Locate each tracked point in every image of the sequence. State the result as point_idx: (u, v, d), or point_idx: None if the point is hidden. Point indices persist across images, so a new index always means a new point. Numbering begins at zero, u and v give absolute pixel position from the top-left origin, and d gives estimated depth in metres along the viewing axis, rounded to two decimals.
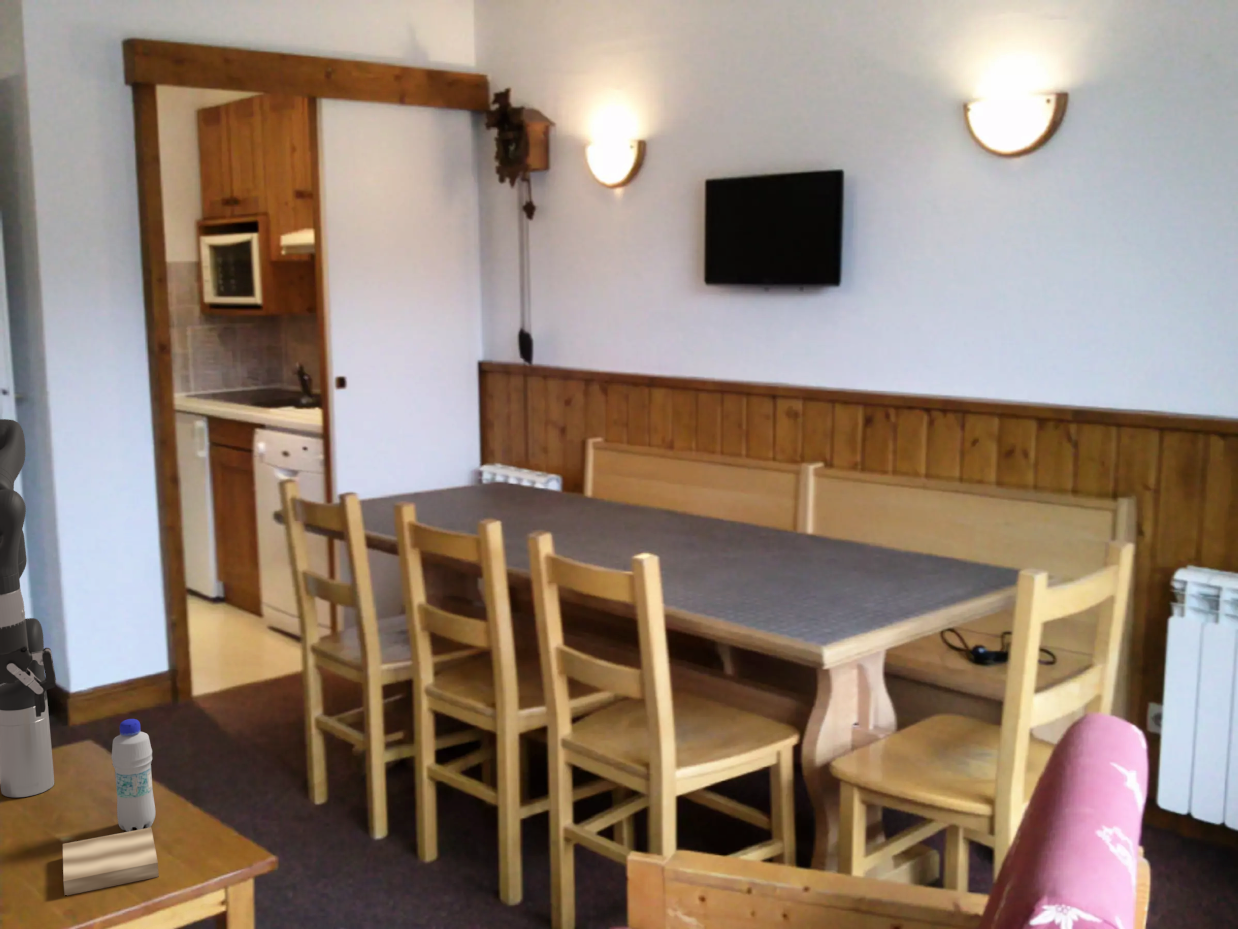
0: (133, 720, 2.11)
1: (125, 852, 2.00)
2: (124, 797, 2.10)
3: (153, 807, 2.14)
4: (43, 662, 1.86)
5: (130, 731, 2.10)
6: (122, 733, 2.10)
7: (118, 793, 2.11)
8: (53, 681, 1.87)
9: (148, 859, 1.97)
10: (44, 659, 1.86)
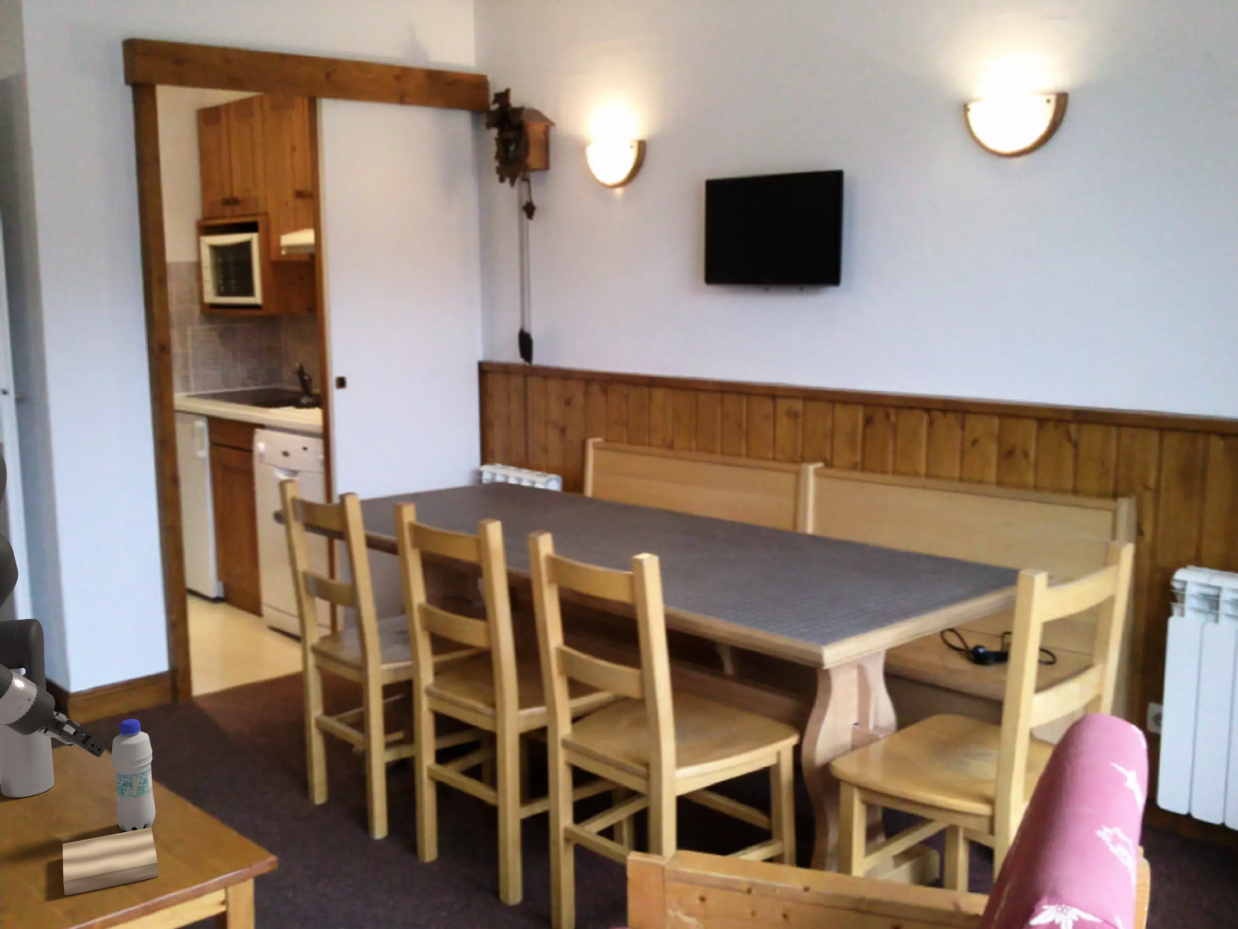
0: (133, 720, 2.11)
1: (125, 852, 2.00)
2: (124, 797, 2.10)
3: (153, 807, 2.14)
4: (64, 736, 1.95)
5: (130, 731, 2.10)
6: (122, 733, 2.10)
7: (118, 793, 2.11)
8: (82, 747, 1.97)
9: (148, 859, 1.97)
10: (63, 735, 1.95)
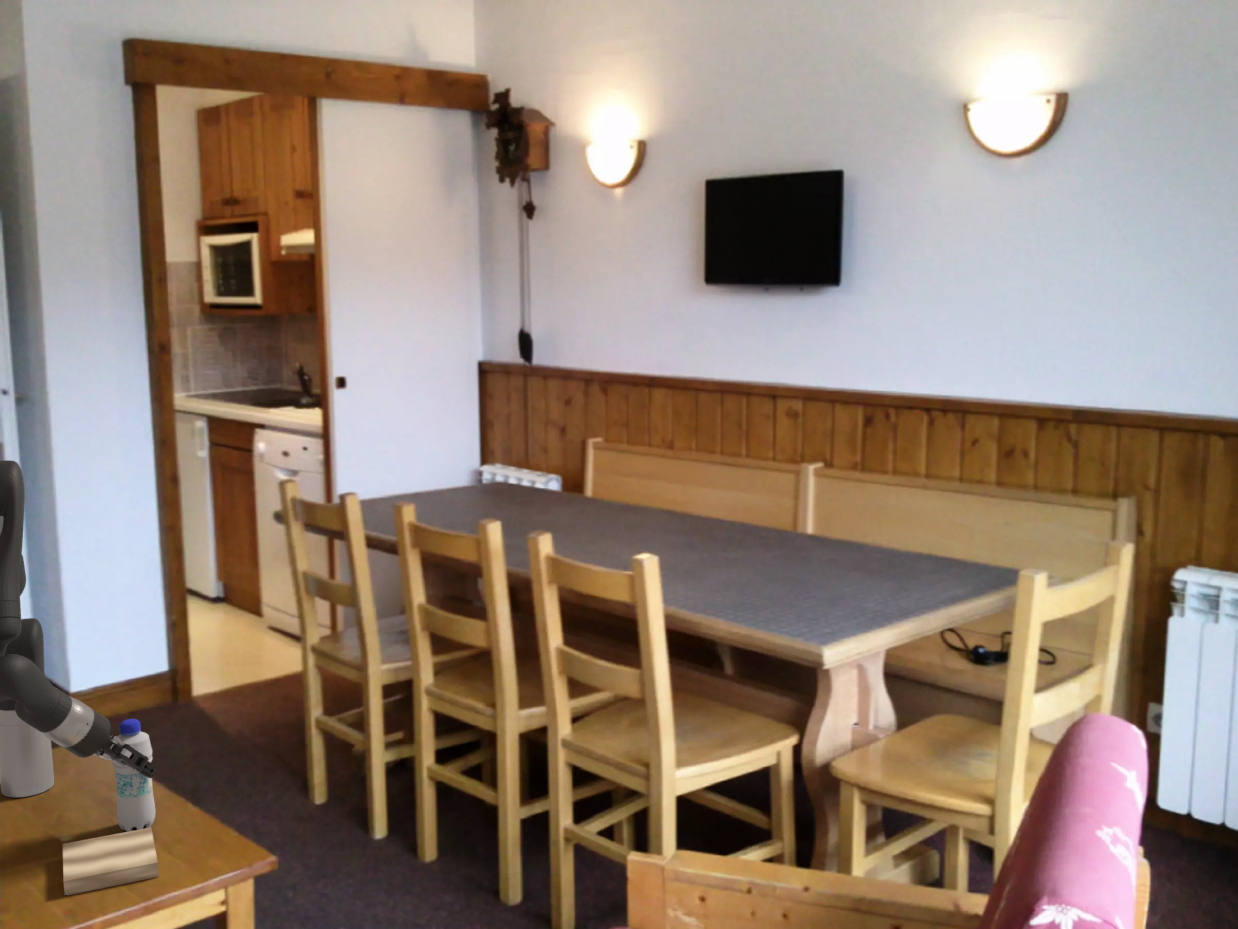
0: (133, 720, 2.11)
1: (125, 852, 2.00)
2: (124, 797, 2.10)
3: (153, 807, 2.14)
4: (121, 759, 2.04)
5: (130, 731, 2.10)
6: (122, 733, 2.10)
7: (118, 793, 2.11)
8: (137, 769, 2.06)
9: (148, 859, 1.97)
10: (120, 759, 2.04)
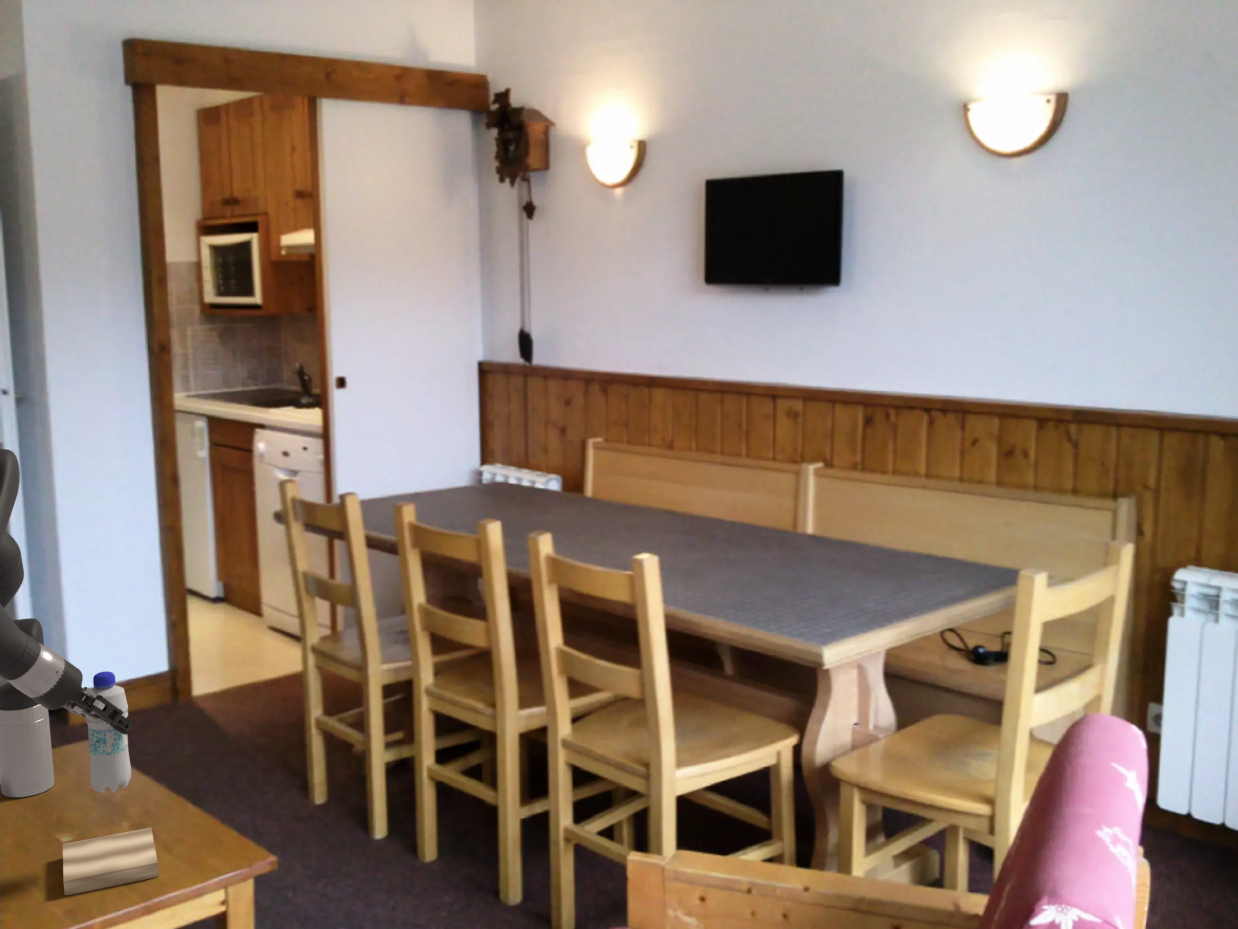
0: (108, 672, 1.98)
1: (125, 852, 2.00)
2: (97, 755, 1.97)
3: (129, 766, 2.00)
4: None
5: (104, 683, 1.97)
6: (96, 686, 1.97)
7: (91, 750, 1.98)
8: (110, 723, 1.93)
9: (148, 859, 1.97)
10: (92, 711, 1.91)
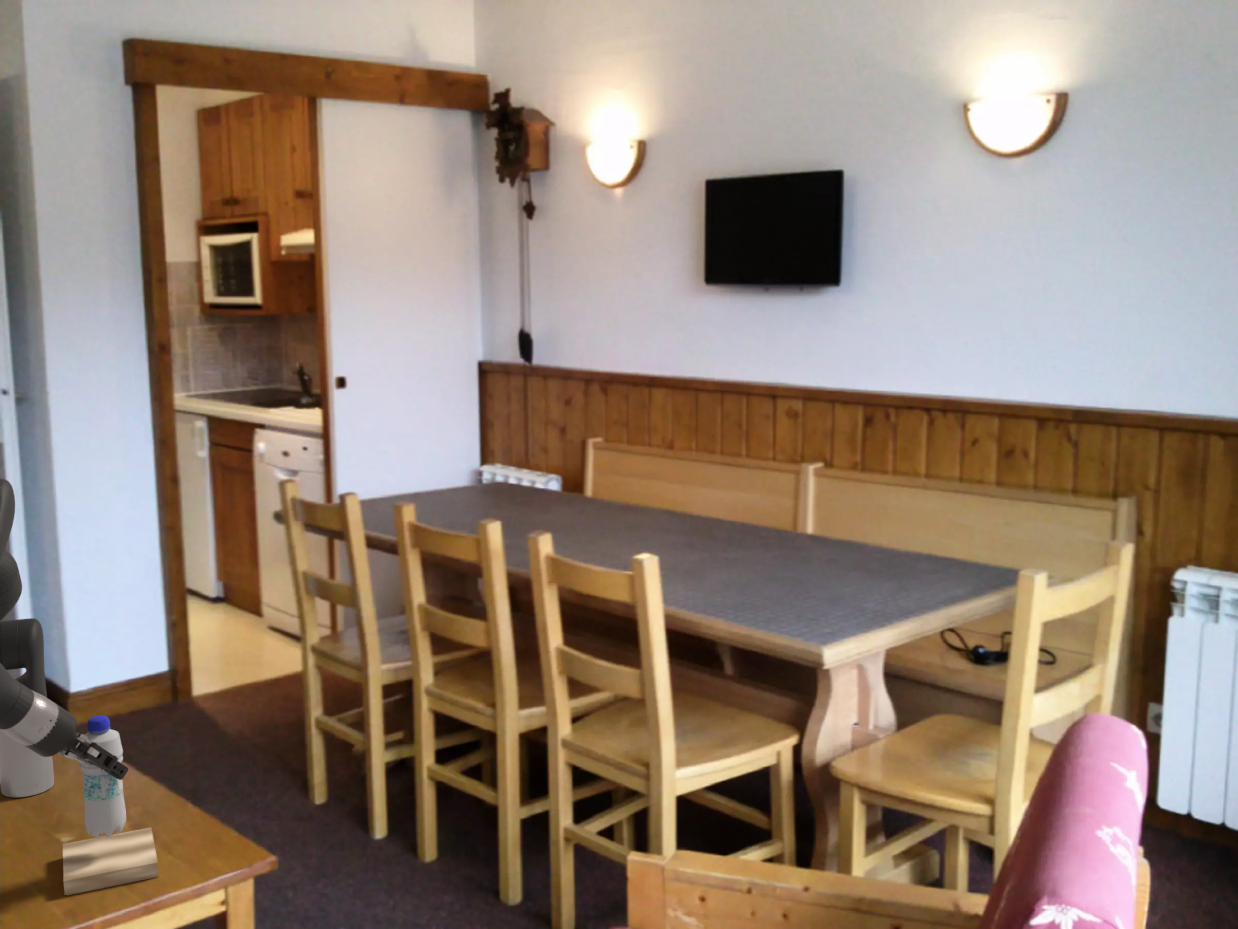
0: (102, 717, 1.96)
1: (125, 852, 2.00)
2: (91, 800, 1.95)
3: (124, 811, 1.98)
4: (87, 759, 1.89)
5: (99, 728, 1.94)
6: (90, 731, 1.94)
7: (85, 796, 1.95)
8: (105, 770, 1.90)
9: (148, 859, 1.97)
10: (86, 758, 1.88)
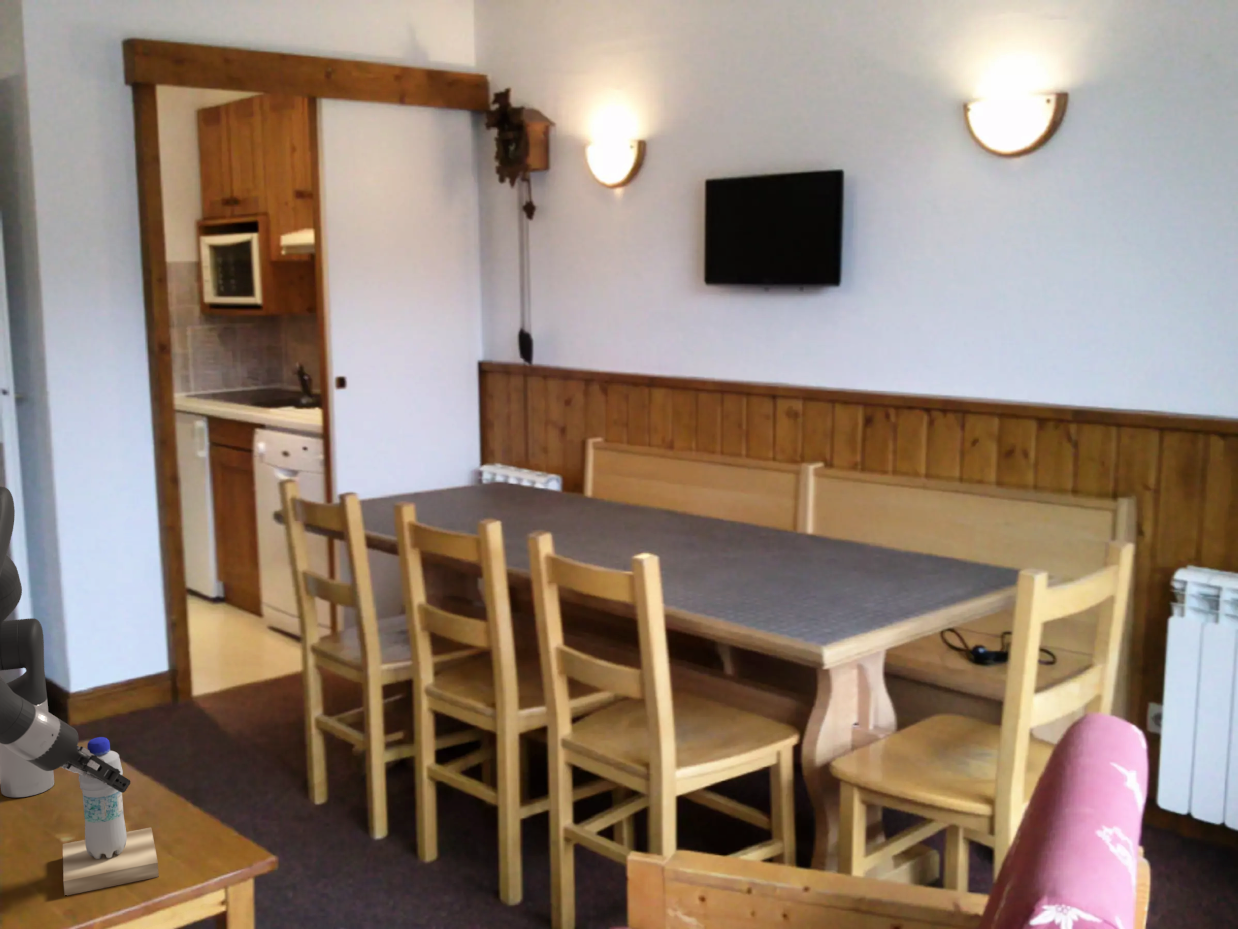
0: (102, 738, 1.96)
1: (125, 852, 2.00)
2: (92, 822, 1.95)
3: (124, 832, 1.99)
4: (88, 772, 1.89)
5: (98, 750, 1.95)
6: None
7: (86, 817, 1.96)
8: (107, 783, 1.90)
9: (148, 859, 1.97)
10: (87, 771, 1.88)
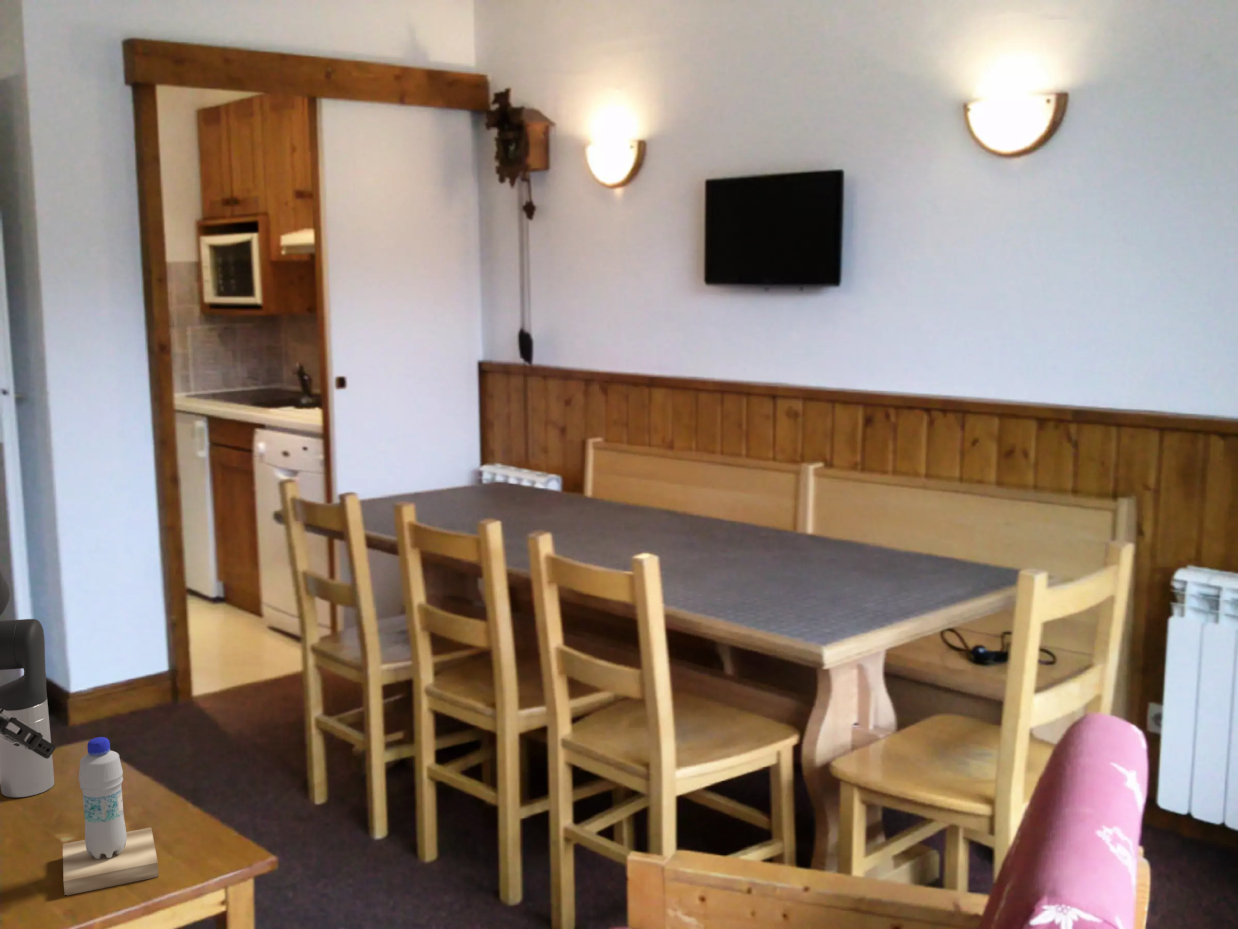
0: (102, 738, 1.96)
1: (125, 852, 2.00)
2: (92, 822, 1.95)
3: (124, 832, 1.99)
4: (7, 735, 1.78)
5: (98, 750, 1.95)
6: (90, 752, 1.95)
7: (86, 817, 1.96)
8: (28, 747, 1.79)
9: (148, 859, 1.97)
10: (6, 734, 1.77)
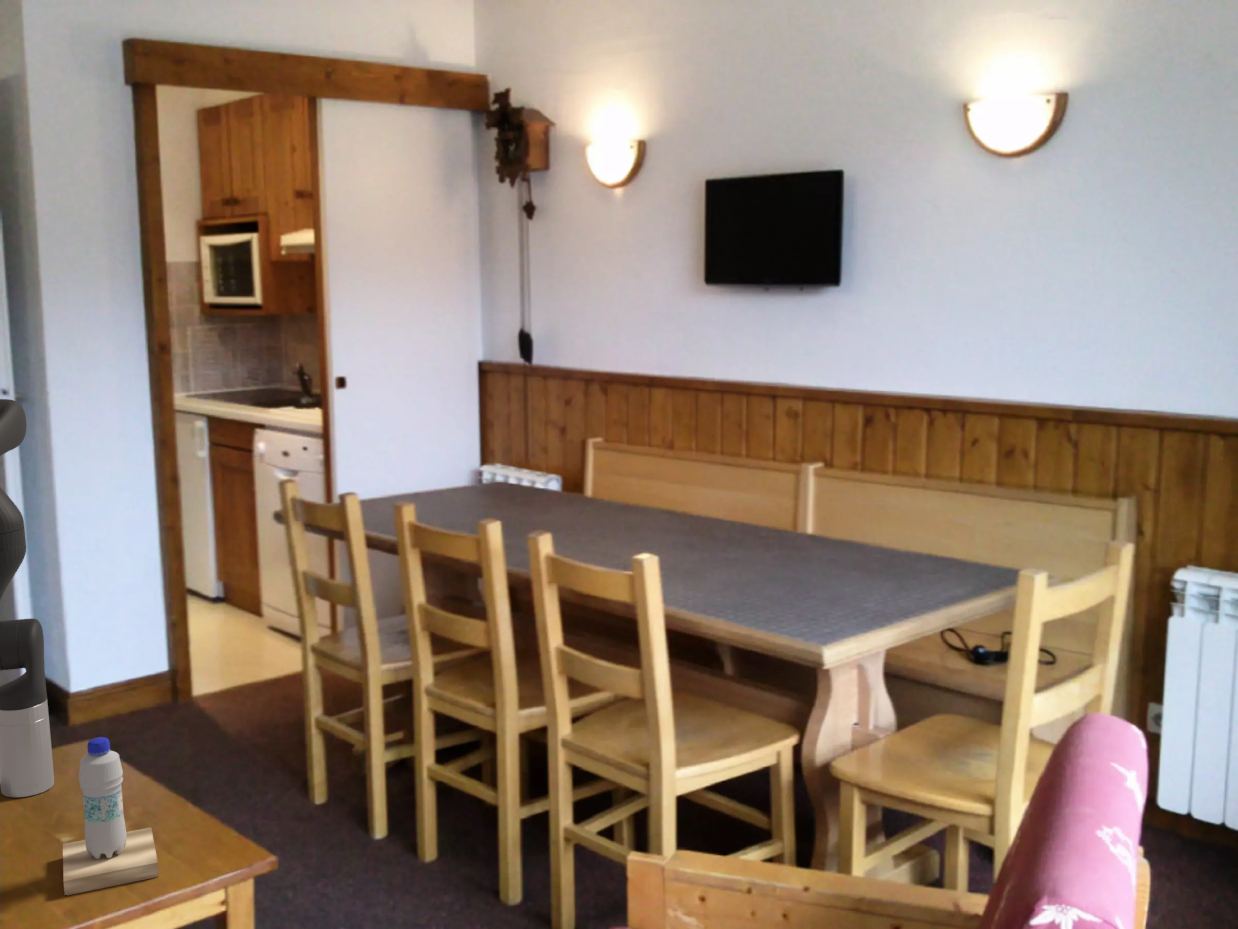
0: (102, 738, 1.96)
1: (125, 852, 2.00)
2: (92, 822, 1.95)
3: (124, 832, 1.99)
4: None
5: (98, 750, 1.95)
6: (90, 752, 1.95)
7: (86, 817, 1.96)
8: None
9: (148, 859, 1.97)
10: None
